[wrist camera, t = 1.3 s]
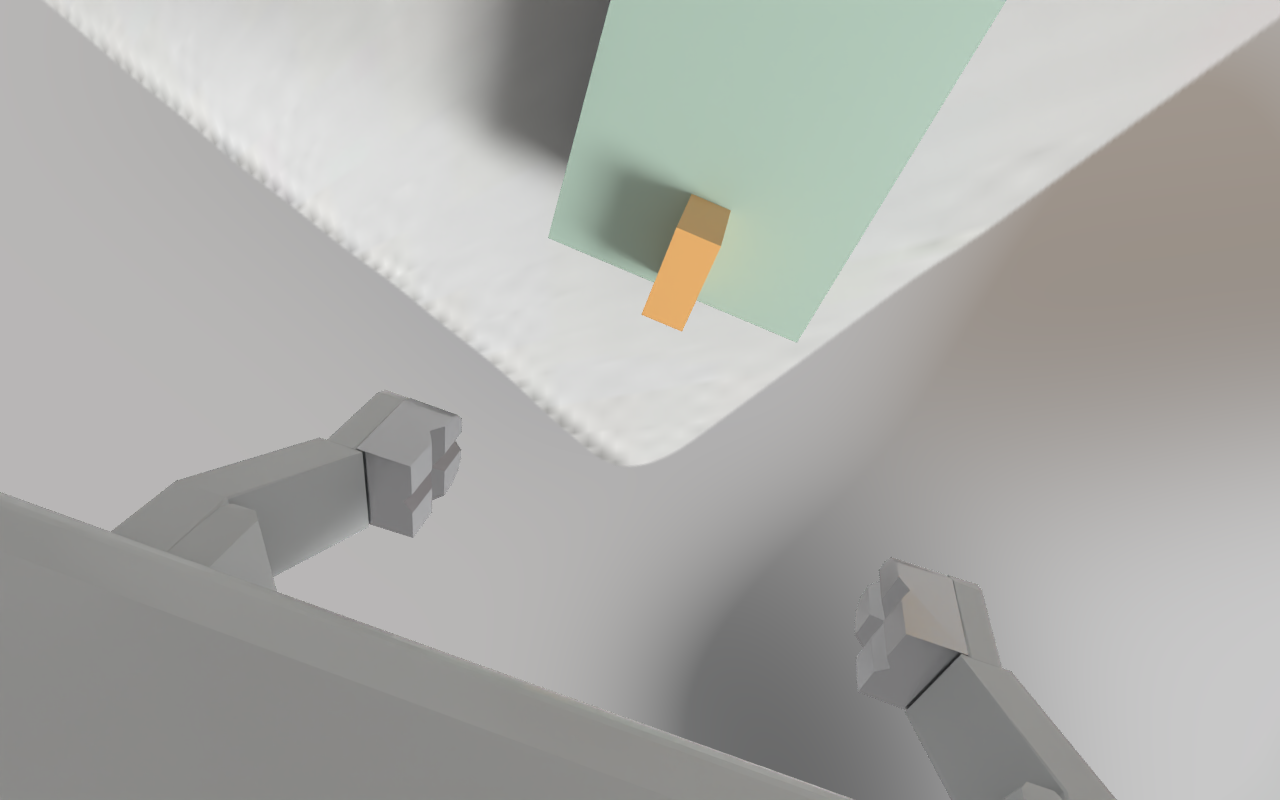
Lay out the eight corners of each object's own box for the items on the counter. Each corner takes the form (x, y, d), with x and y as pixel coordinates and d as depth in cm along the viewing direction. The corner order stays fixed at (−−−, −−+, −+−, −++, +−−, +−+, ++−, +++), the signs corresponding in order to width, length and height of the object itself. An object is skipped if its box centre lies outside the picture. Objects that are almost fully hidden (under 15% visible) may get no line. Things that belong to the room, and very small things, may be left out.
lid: (562, 221, 30) (516, 273, 25) (666, -157, 21) (625, -189, 17) (797, 320, 31) (796, 390, 26) (994, -10, 22) (1049, 1, 17)
